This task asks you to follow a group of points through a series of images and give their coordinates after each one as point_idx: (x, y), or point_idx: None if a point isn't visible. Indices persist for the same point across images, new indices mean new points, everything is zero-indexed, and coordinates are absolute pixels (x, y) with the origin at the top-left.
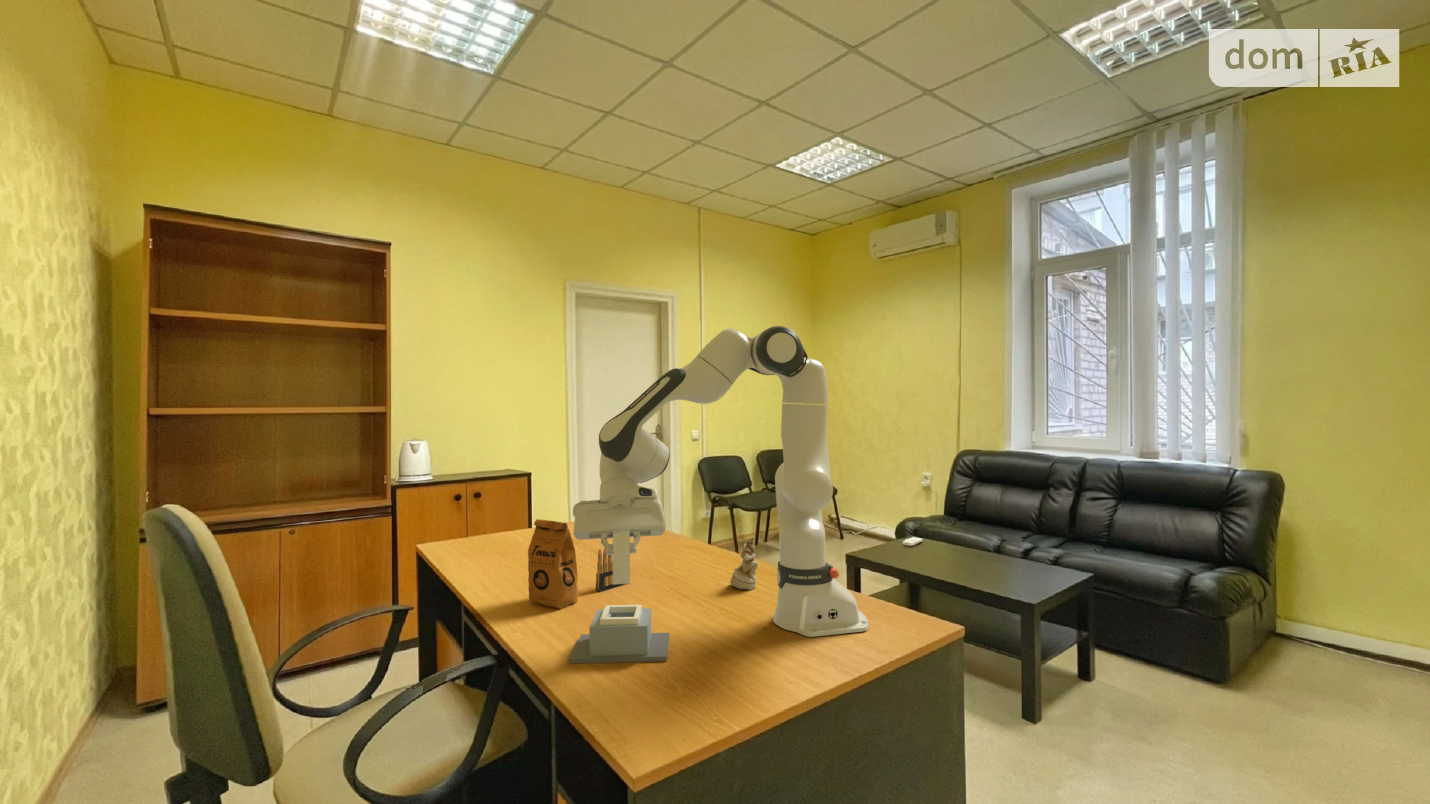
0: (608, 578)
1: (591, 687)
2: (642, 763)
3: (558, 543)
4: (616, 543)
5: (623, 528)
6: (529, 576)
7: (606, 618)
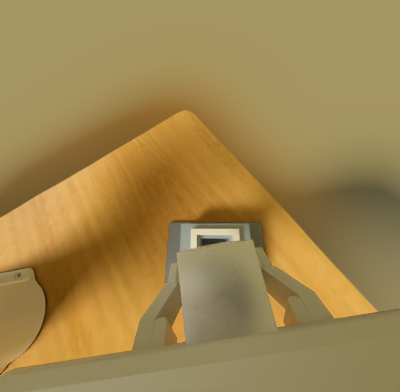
0: None
1: (227, 182)
2: (184, 114)
3: None
4: (230, 242)
5: (215, 344)
6: None
7: (231, 231)
